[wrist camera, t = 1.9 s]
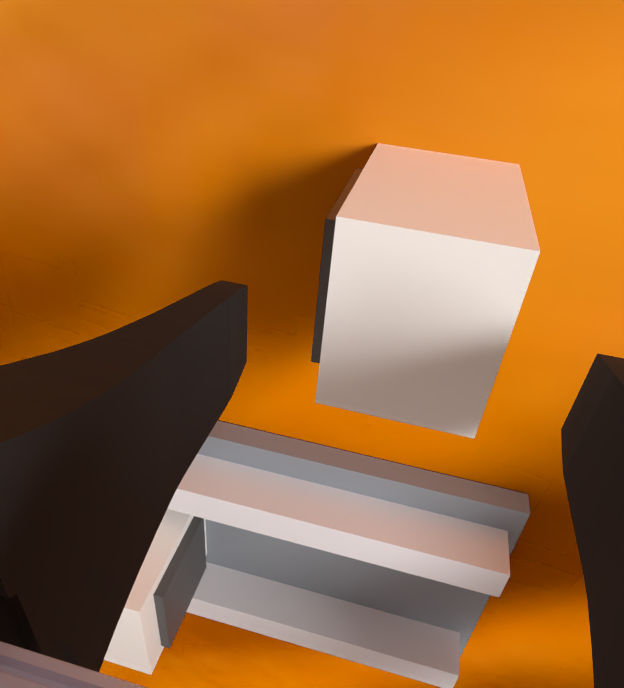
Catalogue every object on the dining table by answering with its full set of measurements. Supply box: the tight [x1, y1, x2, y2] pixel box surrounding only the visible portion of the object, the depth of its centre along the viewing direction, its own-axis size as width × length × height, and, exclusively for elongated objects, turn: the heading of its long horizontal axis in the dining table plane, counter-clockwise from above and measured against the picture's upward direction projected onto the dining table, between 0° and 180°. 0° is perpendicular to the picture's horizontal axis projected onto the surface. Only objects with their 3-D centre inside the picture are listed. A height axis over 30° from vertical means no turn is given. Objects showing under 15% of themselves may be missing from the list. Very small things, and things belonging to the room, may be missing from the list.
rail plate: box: [104, 421, 530, 688], centre depth 24 cm, size 18×12×7 cm, turn 86°
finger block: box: [311, 143, 540, 438], centre depth 15 cm, size 4×5×6 cm
